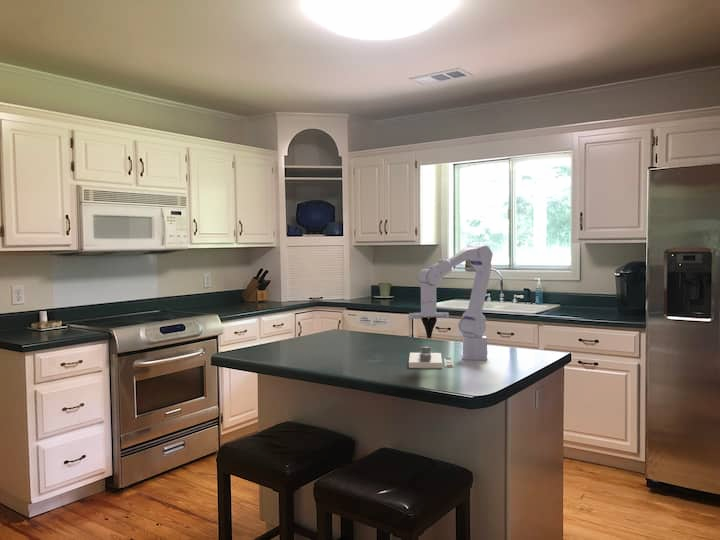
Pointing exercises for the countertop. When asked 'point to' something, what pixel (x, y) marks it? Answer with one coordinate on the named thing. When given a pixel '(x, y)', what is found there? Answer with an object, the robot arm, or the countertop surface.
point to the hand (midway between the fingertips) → (429, 337)
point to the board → (417, 363)
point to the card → (448, 362)
